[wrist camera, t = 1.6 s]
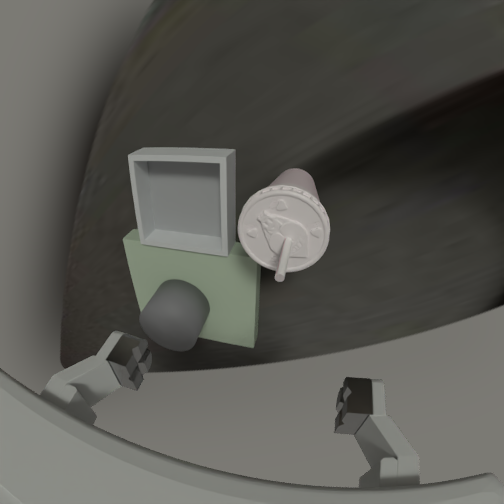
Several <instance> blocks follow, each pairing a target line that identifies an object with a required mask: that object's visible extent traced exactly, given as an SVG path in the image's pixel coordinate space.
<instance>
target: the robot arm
mask: <svg viewBox="0 0 504 504" xmlns="http://www.w3.org/2000/svg"><path fill="white" fill-rule="evenodd" d="M147 346H148V343H147V340H145V339H141V338H138V337H135V336H132V335H128V334H126V333H122V332H119V331H114V332H112V334H111V335H110V336H109V338H108V339H107V341H106V342H105V344H104V345H103V346H102V348H101V349H100V351H99V352H98V354H97V355H96V356H94V355H93V356H91V357H89V358H87V359H85V360H83V361H81V362H79V363H77V364H75V365H73V366H71V367H69V368H67V369H65V370H63V371H61V372H59V373H57V374H55V375H53V377H52V378H51V379H50V381H49V382H48V384H47V385H46V387H45V388H44V390H43V391H42V392H41V394H40V395H38V394H37V393H35V392H34V391H32V390H31V389H29V388H27V387H26V386H24V385H23V384H22V383H20V382H19V381H17V380H16V379H14V378H13V377H11V376H10V375H9V374H7V373H6V372H5V371H3V370H2V369H1V368H0V504H504V484H503V483H502V482H501V481H500V480H499V479H498V477H497V476H495V475H494V474H493V473H483V474H479V475H474V476H470V477H465V478H460V479H455V480H449V481H442V482H436V483H428V484H420V481H419V480H420V478H419V455H418V454H417V452H416V451H415V450H414V448H413V447H412V446H411V444H410V443H409V441H408V440H407V439H406V437H405V436H404V435H403V433H402V432H401V430H400V429H399V428H398V426H397V425H396V424H395V422H394V421H393V420H392V418H391V417H390V416H389V415H388V416H387V415H386V400H385V386H384V381H383V380H376V379H367V378H352V377H346V378H345V380H344V382H343V387H342V388H340V391H339V394H338V398H337V404H336V410H337V412H338V415H337V417H336V419H335V432H334V433H340V434H352V435H354V436H355V438H356V440H357V442H358V444H359V445H360V447H361V449H362V451H363V453H364V455H365V457H366V459H367V461H368V463H369V464H370V466H371V469H370V470H369V471H368V472H366V473H365V474H364V475H363V476H361V477H360V479H359V488H347V487H324V486H323V487H322V486H311V485H300V484H291V483H284V482H276V481H270V480H263V479H258V478H252V477H247V476H242V475H237V474H232V473H228V472H223V471H219V470H215V469H211V468H207V467H203V466H200V465H196V464H193V463H190V462H186V461H183V460H180V459H176V458H173V457H170V456H167V455H164V454H162V453H159V452H156V451H153V450H150V449H148V448H145V447H142V446H140V445H137V444H135V443H132V442H130V441H127V440H125V439H123V438H120V437H118V436H116V435H113V434H111V433H109V432H107V431H105V430H102V429H100V428H98V427H96V426H94V425H93V424H94V422H95V420H96V418H97V416H96V414H95V413H94V411H93V410H92V409H91V407H92V406H93V405H95V404H96V403H97V402H99V401H100V400H102V399H103V398H105V397H106V396H108V395H109V394H111V393H112V392H114V391H115V390H117V389H118V388H119V387H121V386H124V387H127V388H130V389H133V390H136V391H137V390H138V388H139V387H140V385H141V383H142V381H143V374H144V373H146V372H148V370H149V368H150V366H151V362H152V355H151V352H150V351H149V350H148V349H147ZM120 385H121V386H120Z"/></svg>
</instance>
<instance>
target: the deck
mask: <svg viewBox="0 0 504 504" xmlns="http://www.w3.org/2000/svg"><path fill="white" fill-rule="evenodd" d="M128 160H129V169H130V177H131V185H132V192H133V199H134V206H135V212H136V218H137V224H138V229H133V230H132V231H131V232H130V233H129V234H127V235H126V236H125V237H124V238H123V242H124V247H125V251H126V256H127V260H128V264H129V269H130V273H131V277H132V281H133V285H134V288H135V292H136V296H137V300H138V303H139V307H140V310H141V313H140V317H139V320H140V324H141V327H142V329H143V330H144V332H145V333H146V334H147V335H148V336H149V337H150V338H151V339H152V340H153V341H154V342H156V343H157V344H159V345H161V346H162V347H165V348H167V349H170V350H174V351H187V350H189V349H191V348H192V347H193V346H194V345H195V343H196V341H197V338H198V337H201V338H205V339H210V340H215V341H219V342H224V343H229V344H234V345H240V346H245V347H250V348H254V345H255V342H256V338H257V335H258V318H259V298H260V277H261V265H260V264H258V263H257V262H255V261H254V260H253V259H252V258H251V257H250V256H249V255H248V254H247V253H246V251H245V250H244V248H243V247H242V245H241V243H239V242H236V198H235V180H236V150H235V149H214V148H142V149H140V150H138V151H135V152H133V153H131V154H129V155H128Z"/></svg>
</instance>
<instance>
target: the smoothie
mask: <svg viewBox="0 0 504 504" xmlns="http://www.w3.org/2000/svg"><path fill="white" fill-rule="evenodd" d="M329 234H330V223H329V218H328V215H327V213H326V210H325V208H324V207H323V206H322V204H321V203H320V201H319V197H318V194H317V190H316V187H315V184H314V181H313V179H312V177H311V176H310V175H309V174H308V173H307V172H306V171H304V170H301V169H296V168H294V169H289V170H286V171H284V172H283V173H282V174H281V175H280V176H279V177H278V178H277V179H276V180H274V181H273V182H272V183H271V184H270V185H269V186H268V187H267V188H265V189H262V190H260V191H258V192H257V193H255V194H254V195H253V196H252V197H250V198H249V200H248V201H247V203H246V204H245V205H244V207H243V210H242V213H241V215H240V217H239V221H238V235H239V239H240V242H241V245H242V247H243V248H244V250H245V251H246V253H247V254H248V255H249V256H250V257H251V258H252V259H253V260H254V261H255V262H257V263H258V264H260V265H261V266H263V267H265V268H268V269H271V270H274V271H276V274H275V280H276V281H278V282H282V281H283V280H284V278H285V274H286V272H295V271H299V270H303V269H305V268H308V267H309V266H311V265H313V264H314V263H315V262H317V261H318V260H319V259H320V258H321V256H322V255H323V254H324V252H325V250H326V248H327V245H328V242H329Z"/></svg>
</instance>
